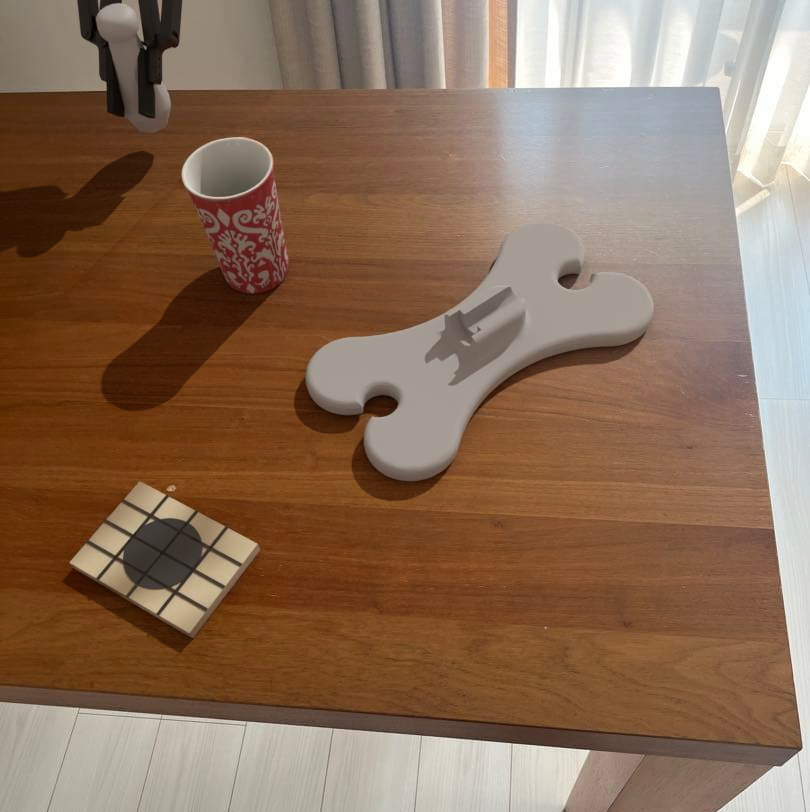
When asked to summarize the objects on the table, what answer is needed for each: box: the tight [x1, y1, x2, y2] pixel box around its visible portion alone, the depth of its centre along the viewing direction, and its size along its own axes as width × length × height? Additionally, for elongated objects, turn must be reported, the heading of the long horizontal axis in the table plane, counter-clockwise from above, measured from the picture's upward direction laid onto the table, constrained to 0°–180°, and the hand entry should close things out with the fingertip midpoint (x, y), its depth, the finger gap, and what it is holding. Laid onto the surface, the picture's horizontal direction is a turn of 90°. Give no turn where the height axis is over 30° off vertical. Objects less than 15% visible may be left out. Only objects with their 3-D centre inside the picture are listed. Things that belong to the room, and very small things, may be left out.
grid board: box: [68, 481, 261, 639], centre depth 80 cm, size 14×10×1 cm
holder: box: [304, 221, 655, 482], centre depth 87 cm, size 19×34×5 cm, turn 127°
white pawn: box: [96, 3, 172, 134], centre depth 99 cm, size 6×6×13 cm
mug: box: [180, 136, 290, 295], centre depth 93 cm, size 13×9×14 cm
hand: (131, 114), depth 99 cm, fingers closed on white pawn, 3 cm apart
